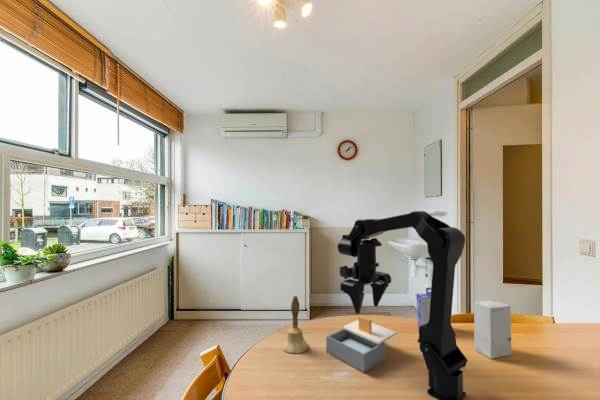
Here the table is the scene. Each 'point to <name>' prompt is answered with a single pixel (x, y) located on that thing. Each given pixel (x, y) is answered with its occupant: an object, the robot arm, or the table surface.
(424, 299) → the ink cartridge box
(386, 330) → the flap
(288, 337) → the hand bell
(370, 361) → the carton
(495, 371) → the table surface
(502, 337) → the skincare box
